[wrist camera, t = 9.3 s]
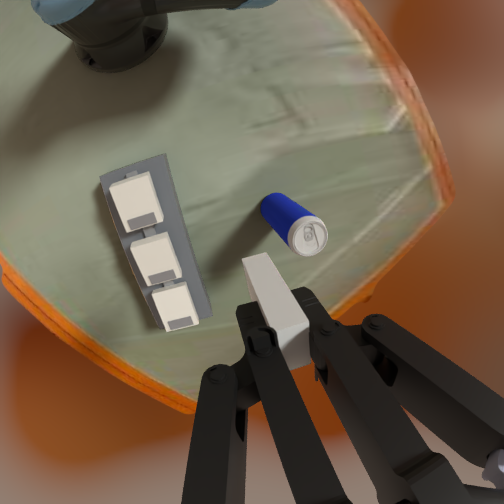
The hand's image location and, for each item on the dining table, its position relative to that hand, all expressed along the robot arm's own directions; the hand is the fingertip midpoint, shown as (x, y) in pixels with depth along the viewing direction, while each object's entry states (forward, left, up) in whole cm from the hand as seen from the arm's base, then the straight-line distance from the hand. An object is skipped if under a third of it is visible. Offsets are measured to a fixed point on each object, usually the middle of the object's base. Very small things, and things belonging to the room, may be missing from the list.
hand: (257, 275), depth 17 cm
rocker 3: (+15, -11, -23) cm, 30 cm away
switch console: (+6, -11, -29) cm, 31 cm away
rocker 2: (+6, -11, -23) cm, 27 cm away
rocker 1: (-3, -11, -23) cm, 26 cm away
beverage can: (+5, +9, -29) cm, 31 cm away
